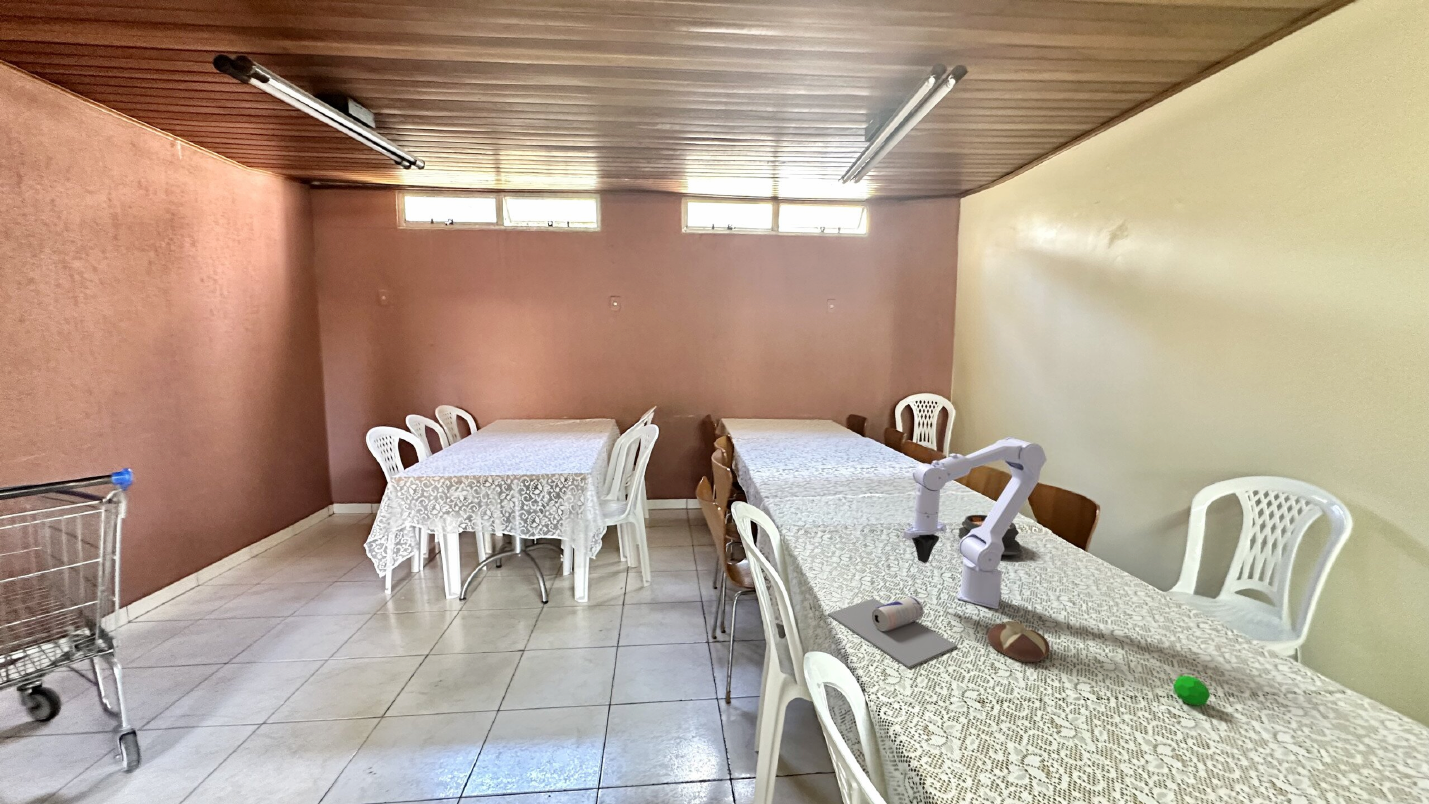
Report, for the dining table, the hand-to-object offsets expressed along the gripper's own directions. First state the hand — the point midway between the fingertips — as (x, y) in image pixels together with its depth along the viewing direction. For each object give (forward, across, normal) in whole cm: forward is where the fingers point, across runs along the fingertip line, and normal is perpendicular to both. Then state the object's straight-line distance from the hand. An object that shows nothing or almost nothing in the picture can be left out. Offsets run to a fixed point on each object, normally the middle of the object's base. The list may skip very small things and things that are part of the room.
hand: (922, 561), depth 135 cm
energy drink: (+7, +10, +6) cm, 14 cm away
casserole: (+10, -53, -14) cm, 56 cm away
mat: (+10, +20, +6) cm, 23 cm away
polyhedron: (+10, -11, +51) cm, 54 cm away
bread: (+11, 0, +26) cm, 28 cm away
